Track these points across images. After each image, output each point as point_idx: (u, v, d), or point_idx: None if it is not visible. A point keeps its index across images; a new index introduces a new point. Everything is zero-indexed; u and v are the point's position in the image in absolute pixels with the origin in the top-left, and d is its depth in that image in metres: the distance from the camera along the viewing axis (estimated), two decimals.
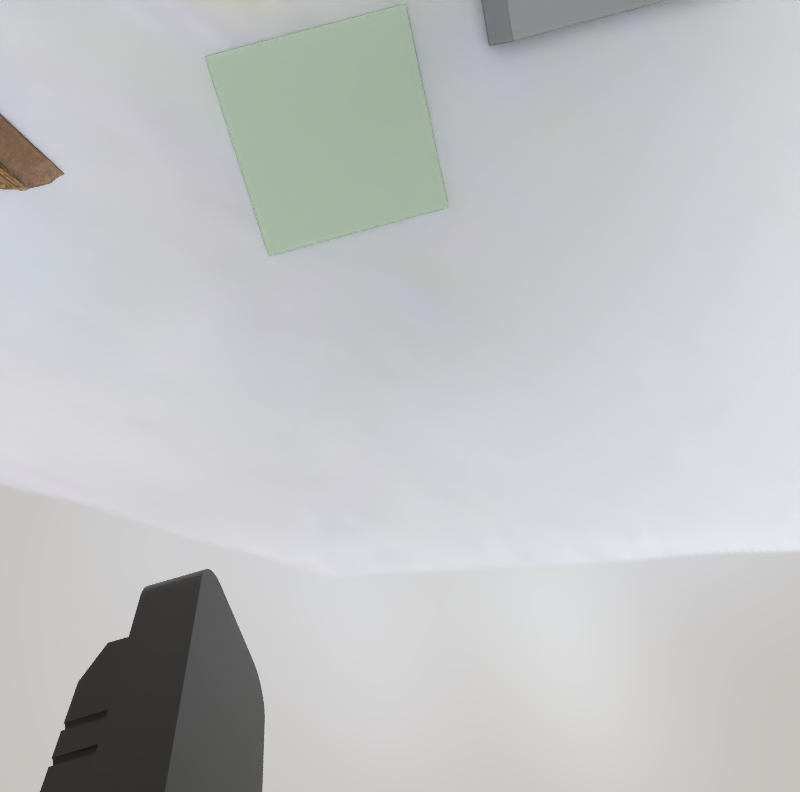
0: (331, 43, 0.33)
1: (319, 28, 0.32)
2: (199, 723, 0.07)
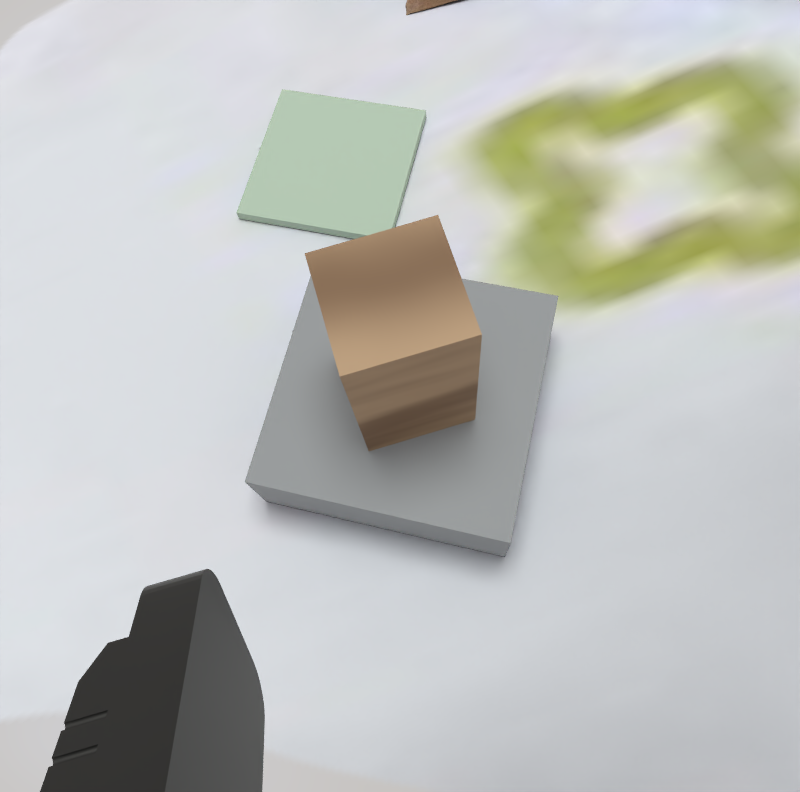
0: (390, 184, 0.42)
1: (404, 180, 0.42)
2: (200, 725, 0.07)
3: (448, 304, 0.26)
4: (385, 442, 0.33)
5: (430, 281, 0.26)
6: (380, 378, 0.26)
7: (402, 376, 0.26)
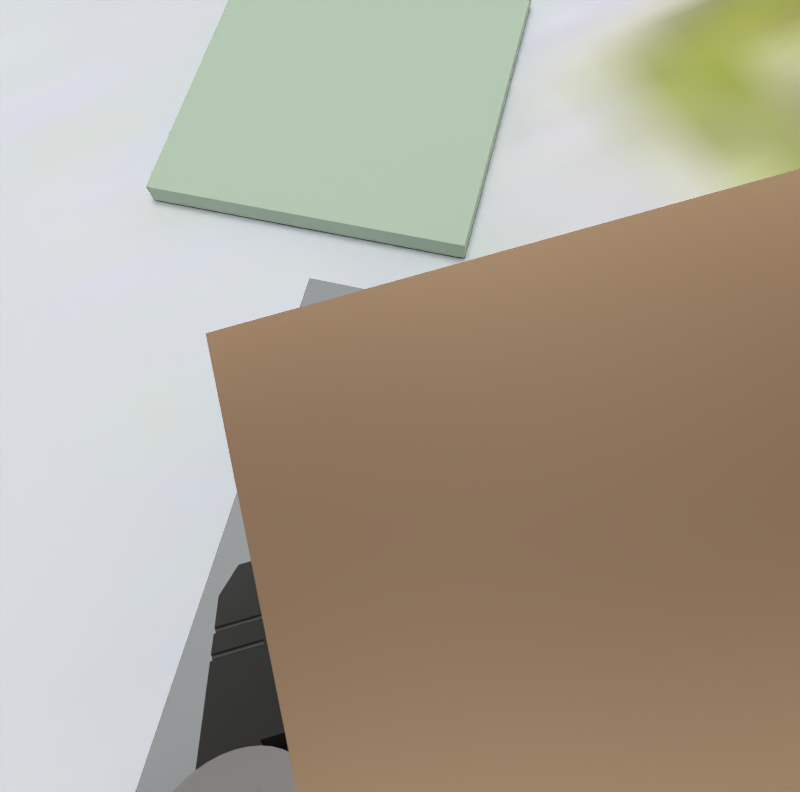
0: (465, 131, 0.20)
1: (493, 125, 0.20)
2: None
3: None
4: None
5: None
6: None
7: None
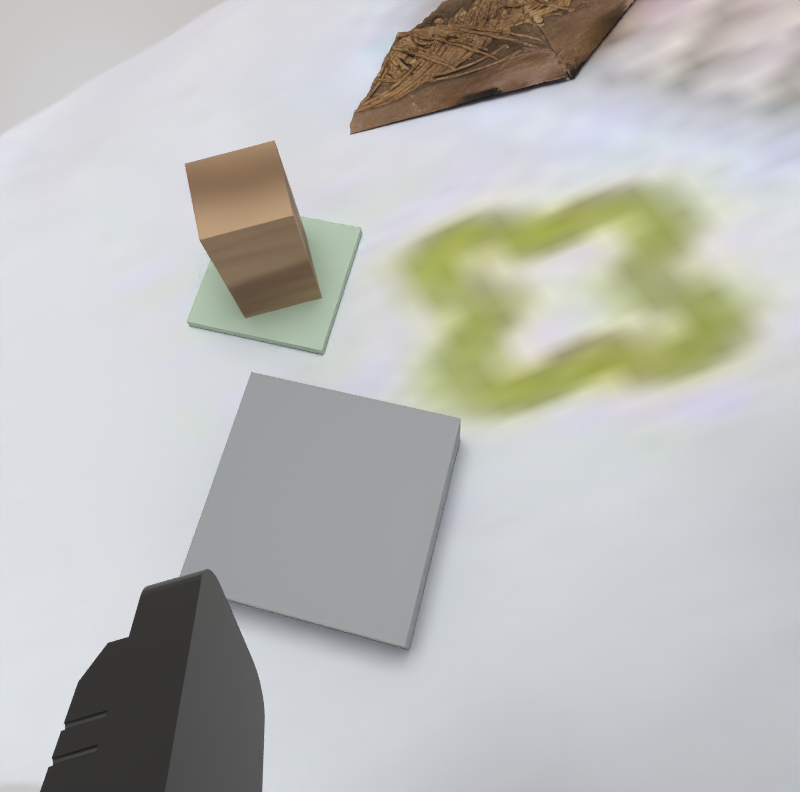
0: (325, 297, 0.47)
1: (338, 295, 0.47)
2: (199, 725, 0.07)
3: (274, 196, 0.39)
4: (256, 311, 0.46)
5: (264, 181, 0.39)
6: (230, 245, 0.39)
7: (246, 246, 0.40)
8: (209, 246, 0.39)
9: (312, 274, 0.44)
